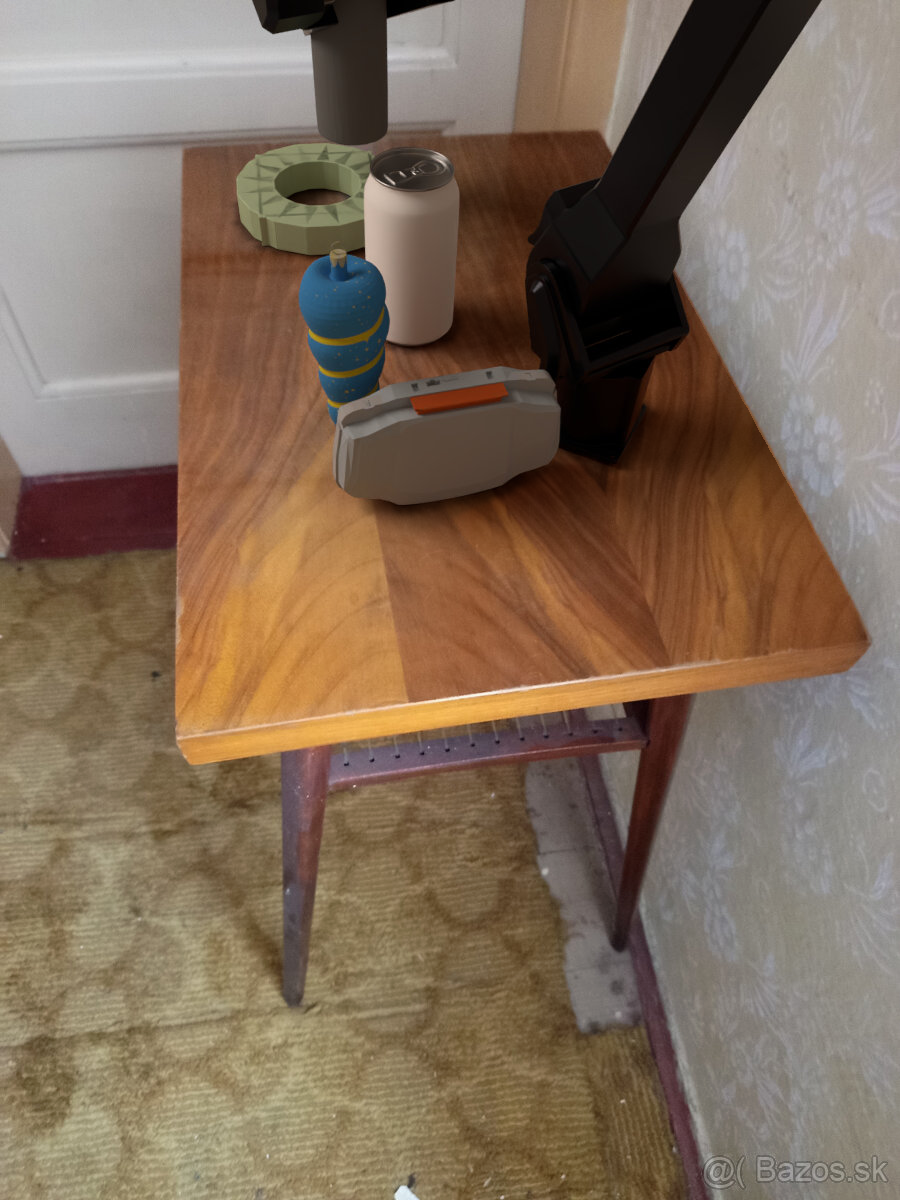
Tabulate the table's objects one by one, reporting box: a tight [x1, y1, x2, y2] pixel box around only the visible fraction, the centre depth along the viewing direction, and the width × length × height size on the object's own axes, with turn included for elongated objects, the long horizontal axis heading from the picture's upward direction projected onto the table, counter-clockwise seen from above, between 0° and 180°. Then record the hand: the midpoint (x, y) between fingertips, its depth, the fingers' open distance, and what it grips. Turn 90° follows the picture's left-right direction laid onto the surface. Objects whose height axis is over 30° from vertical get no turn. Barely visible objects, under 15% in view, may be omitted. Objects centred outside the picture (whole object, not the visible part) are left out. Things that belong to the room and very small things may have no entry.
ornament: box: [298, 242, 390, 426], centre depth 55 cm, size 5×5×15 cm
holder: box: [235, 142, 376, 256], centre depth 77 cm, size 13×13×2 cm
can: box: [364, 146, 461, 347], centre depth 65 cm, size 6×6×12 cm
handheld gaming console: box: [332, 365, 561, 506], centre depth 56 cm, size 14×3×8 cm, turn 107°
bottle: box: [310, 0, 389, 146], centre depth 70 cm, size 6×6×15 cm
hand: (340, 21), depth 70 cm, fingers closed on bottle, 6 cm apart
